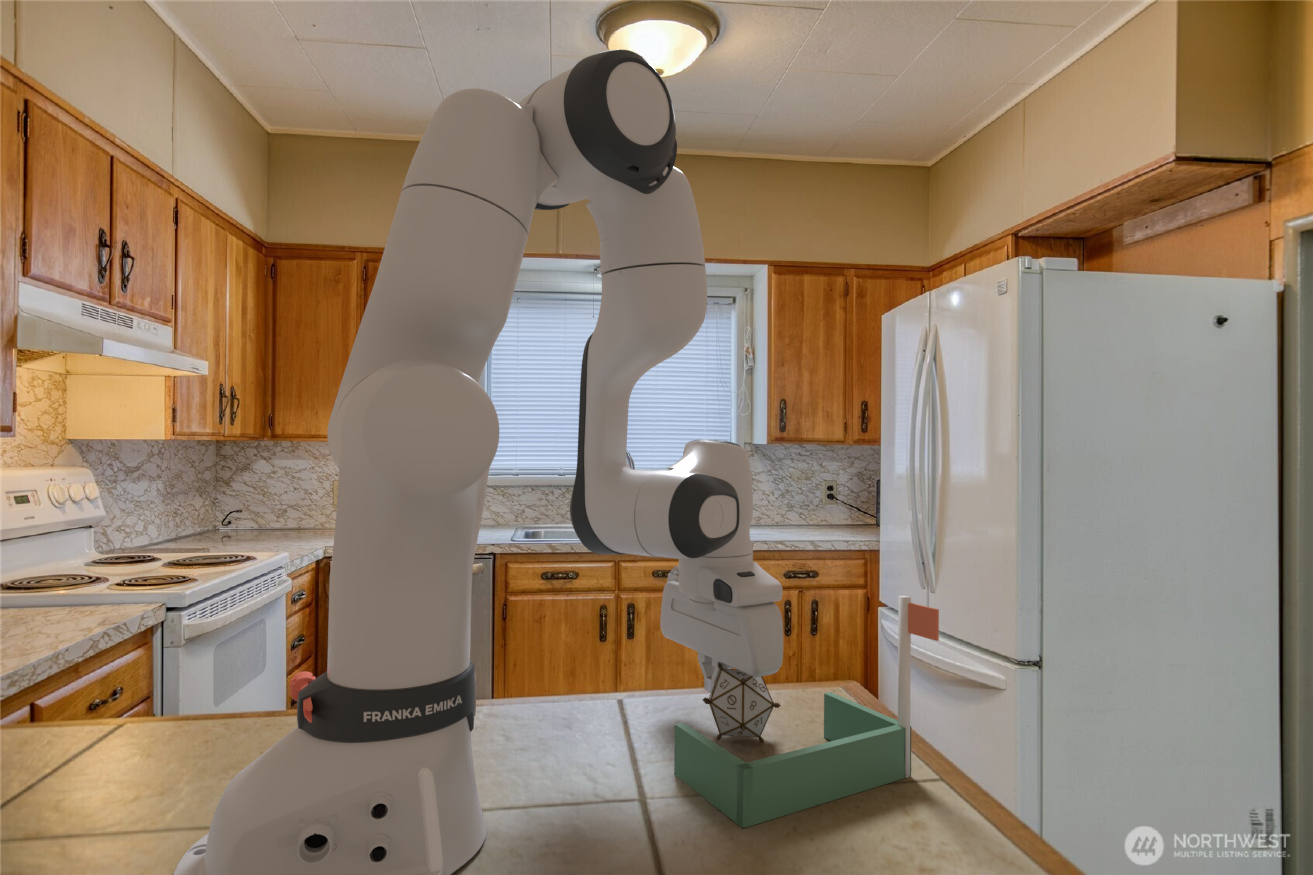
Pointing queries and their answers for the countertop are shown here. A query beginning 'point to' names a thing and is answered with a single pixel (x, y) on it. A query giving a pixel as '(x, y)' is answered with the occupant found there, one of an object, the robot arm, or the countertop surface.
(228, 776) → the countertop surface
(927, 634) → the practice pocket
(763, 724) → the game die
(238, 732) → the countertop surface
